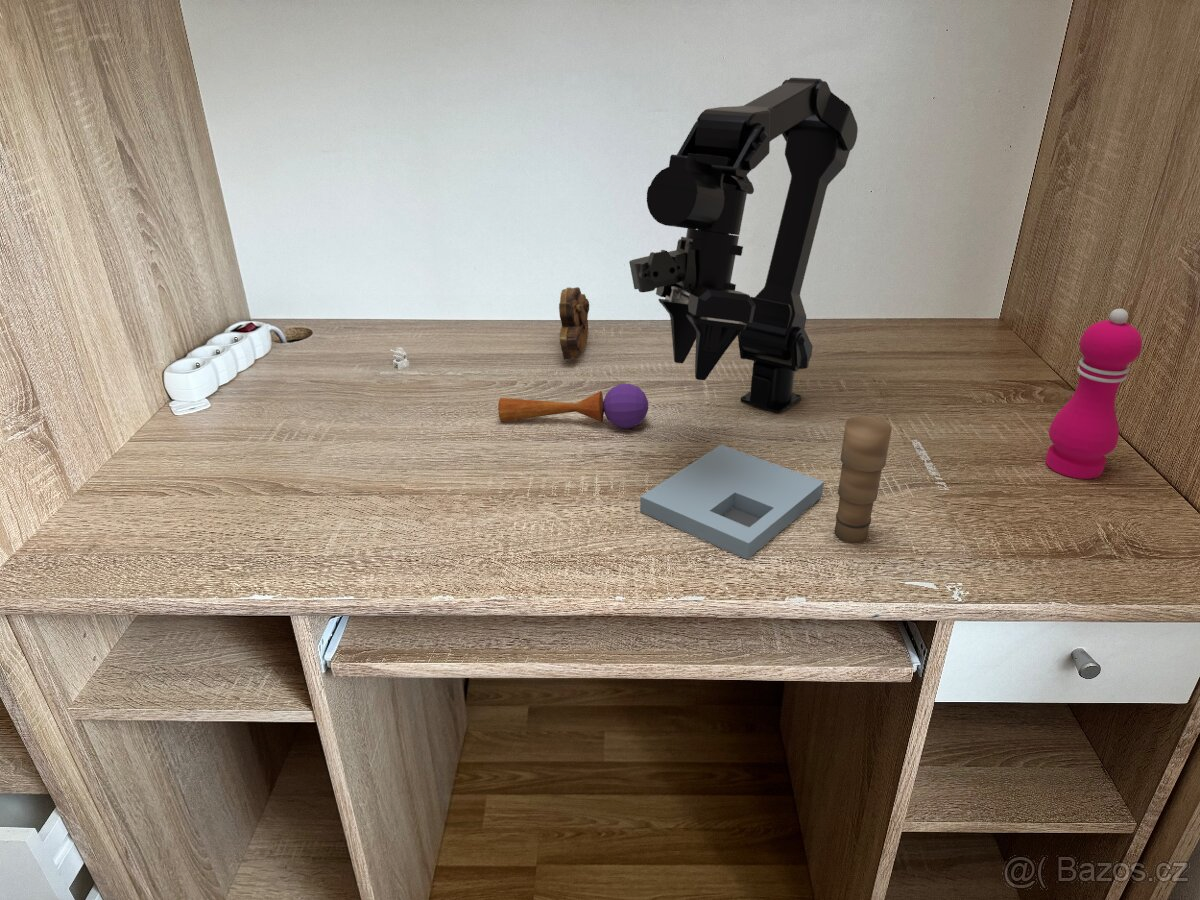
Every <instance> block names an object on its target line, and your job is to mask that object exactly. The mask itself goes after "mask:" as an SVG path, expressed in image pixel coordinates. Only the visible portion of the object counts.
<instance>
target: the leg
mask: <svg viewBox="0 0 1200 900" xmlns="http://www.w3.org/2000/svg"><path fill="white" fill-rule="evenodd" d="M892 429H893V428H892V426H891V424H890V423H888V422H887V421H885V420H883V419H882V418H881V419H880V418H878V417H875V416H874V417H873V416H866V415H865V416H864V415H861V416H853V417H850V418H848V419H847V420H846V421H845V426H844V432H843V438H842V445H841V452H840V462H841V468H840V469H841V470H840V476H839V482H838V483H839V484H838V490H837V494H838V496H839V500H838V506H837V512H836V513H835V525H834V526H835V527H834V536H835V537H836V538H837V539H838V540H840V541H841V542H844V543H845V544H846V543H847V544H852V545H853V544H857V545H858V544H863V543H865V542H866V541H867V540H868V536H869V529H870V525H871V523H872V512H873V507H874V502H876V500H877V498H878V494H879V488H880V482H881V481H880V480H881V476H882V475H881V474H882V470H883V469H884V468H885V467H886V463H887V458H888V452H889V447H890V446H889V445H890V440H891V435H892Z"/></svg>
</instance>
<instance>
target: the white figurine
mask: <svg viewBox="0 0 1200 900" xmlns="http://www.w3.org/2000/svg"><path fill="white" fill-rule="evenodd" d="M390 351H391V352H393V353H394V354H392V357H395V358H394V359H393V361H392V362H393V363H392V365H393V367H392V368H395V367H396V365H397V369H398V370H402V368H404V367H405V368H407V367H409V366H410V360H408V356H407V352H405V350H404V349H403V347H395V350H394V349H390Z"/></svg>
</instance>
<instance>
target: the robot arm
mask: <svg viewBox="0 0 1200 900" xmlns="http://www.w3.org/2000/svg"><path fill="white" fill-rule="evenodd" d="M858 132H859V131H858V123H857V121H856V118H855V116H854V113H853V110H852V108H851V106H850V105H849V104H848V103H846V102H845V101H844V100H843V99H841V98H839V96H837V95H836V94H834V93H833V92H832V91H831V89H830V86H829V84H828V82H827V81H824V80H822V79H821V78H816V77H815V78H812V77H811V78H810V77H809V78H808V77H790V78H789V79H785V80H784V81H782V83H781V85H779V86H777V87H775V88H774V89H771V90H769V91H768V92H766V93H764V94H762V95H760V96H759V97H757V98H755V99H753V100H751V101H750V102H748V103H746V104H744V105H739V106H719V107H712V108H711V107H710V108H706V109H705V110H703V111H702V112H701V113H700V114H699V115H698V117H697V118H696V121H695V122H694V124H693V126H692V127H691V129H690V131H689V133H688V135H687V136H686V138H685V140H684V142H683V144H682V145H681V147H680V148H679V150H678V152H677V153H676V154H671V155H670V156H669V157H670V158H669V163H668V166H667V167H665V168H663V169H661V170H660V171H659V172H658V173H656V175H655V176H654V177H653V179H652V180H651V183H650V184H649V186H648V187H647V191H646V204H647V208H648V212H649V214H650V215H651V217H652V218H653V219H654V220H655V221H656V222H657V223H659V224H661V225H663V226H668V227H676V228H683V229H686V235H685V236H681V237H680V238H679V239H678V241H677V245H676V250H670V251H668V250H665V249H661V250H660V251H658V252H657V251H656V252H653V251H652V252H650V253H649V255H648V256H647V255H646V256H643V257H642V256H641V257H639V258H634V259H632V260H629V267H630V273H631V277H632V278H631V279H632V284H633V288H634V290H638V292H639V293H649V292H653V291H656V292H655V294H656V296H659V297H660V298H658V302H659V303H660V304H661V306H662V307H663V308H664V310H665V311H666V312H667V313H668V315H669V318H670V320H669V321H670V328H671V339H672V351H673V361H674V362H675V363H676V364H684V362H685V361H686V359H687V358H688V356H689V353H690V352H691V350H692V347H693V346H694V343H695V355H694V356H695V357H694V358H695V360H694V362H695V363H694V378H695V379H696V380H698V381H706V380H707V379H708V377H709V375H710V374H711V373H712V371H713V370H714V368H715V367H716V365H717V364H718V362H719V361H720V359H721V358H722V357H723V355H724V354H725V353H726V351H727V350H728V348H729V347H730V346H731V344H732V343H733V342H734V341H735V340H736V338H737V340H738V348H739V350H738V351H739V356H740V359H741V360H749V361H752V362H753V363H752V373H751V379H750V380H751V383H750V391H749V392H748V393H746V394H744V395H742V396H741V397H740V402H742V403H745V404H748V405H752V406H755V407H758V408H762V409H764V410H767V411H770V412H773V413H778V414H779V413H780V414H781V413H783V412H784V411H786V410H788V408H791V407H792V406H794V405H795V404H796V403H798V402H799V401H801V400H802V395H801V394H799V393H794V392H793V390H794V388H793V387H794V379H795V372H798V371H799V370H805V369H807V368H809V365H810V360H811V358H812V355H813V354H812V352H813V349H814V346H813V344H812V342H811V340H810V338H809V336H808V333H807V332H806V329H805V327H806V322H807V313H806V310H805V307H804V304H803V302H802V297H801V292H802V288H803V283H804V279H805V276H806V271H807V268H808V263H809V260H810V256H811V253H812V249H813V245H814V240H815V235H816V231H817V228H818V225H819V224H818V223H819V221H820V216H821V212H822V208H823V204H824V200H825V196H826V192H827V188H828V186H829V184H830V183H831V182H832V181H833V180H834V179H835V178H837V176H838V175H839V174H840V173H841V171H843V169H844V168H845V167H846V164H847V162H848V159H849V157H850V154H851V151H852V150H853V149H854V147H855V145H856V142H857V138H858ZM780 135H782V136H783V138H784V141H785V142H786V144H785V149H784V157H785V159H786V162H787V166H788V169H789V172H790V182H789V186H788V190H787V193H786V198H785V202H784V206H783V210H782V215H781V218H780V222H779V227H778V231H777V235H776V239H775V242H774V243H775V244H774V247H773V252H772V256H771V260H770V263H769V267H768V272H767V275H766V279H765V284H764V287H763V288H762V289H761V290H760V291H759V292H758V294H756V296H751V295H749V293H748V294H747V293H745V292H742V291H739V290H736V286H737V285H736V283H732V276H733V270H734V266H735V265H734V264H735V260H736V256H739V257H741V256H742V254H743V250H744V249H743V248H744V246H742V245H739V240H740V238H739V237H740V233H741V228H742V221H743V217H744V216H743V215H744V212H745V206H746V200H747V195H752V194H754V191H755V187H754V185H753V183H752V182H751V180H750V178H748V175H749V173H750V172H752V170H754V169H755V168H757V167H758V165H760V163H761V162H762V161H763V160H765V158H766V157H767V156H768V155H769V154H770V148H771V147H770V144H771V143H770V142H772V141H773V140H775V139H776V138H778V137H779V136H780Z"/></svg>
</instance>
